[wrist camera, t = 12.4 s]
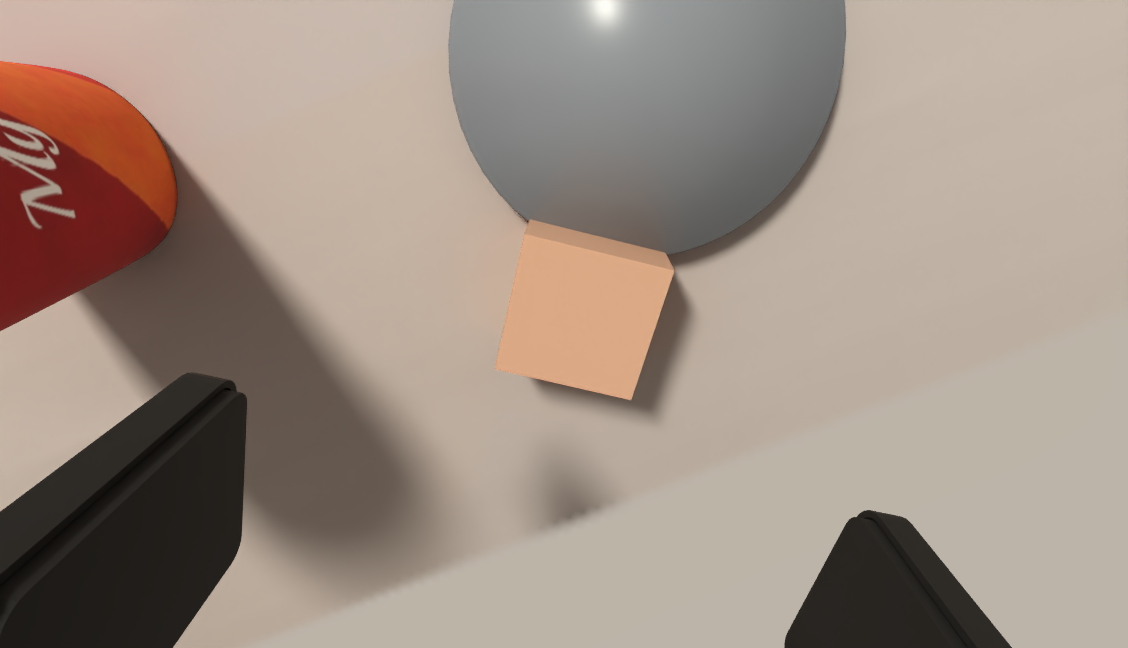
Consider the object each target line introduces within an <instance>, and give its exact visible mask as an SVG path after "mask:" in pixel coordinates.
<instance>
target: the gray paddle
mask: <svg viewBox="0 0 1128 648" xmlns="http://www.w3.org/2000/svg"><path fill="white" fill-rule="evenodd" d="M845 41H846V15H845V1H844V0H454V4H453V9H452V14H451V22H450V33H449V45H448V46H449V74H450V80H451V87H452V94H453V100H454V104H455V107H456V111H457V115H458V118H459V122H460V126H461V128H462V131H463V133H464V135H465V138H466V140H467V143H468V145H469V148H470V150H471V152H472V154H473V155H474V157H475V159H476V161H477V163H478V164H479V166H480V168H481V170H482V171H483V173H484V174H485V176H486V177H487V178H488V180H489V181H490V182H491V184H492V185H493V187H494V188H495V189H496V191H497V192H498V193H499V194H500V195H501V196H502V197H503V198H504V199H505V200H506V201H507V203H508V204H509V205H510V206H511V207H512V208H513V209H514V210H515V211H517V212H518V213H519V214H520V215H521V216H523V217H524V218H525V219H526V220H528V221H529V223H528V225H527V228H526V231H525V233H524V238H523V242H522V247H521V251H520V256H519V260H518V265H517V269H516V274H515V278H514V283H513V287H512V292H511V296H510V301H509V306H508V310H507V315H506V319H505V324H504V328H503V333H502V337H501V342H500V346H499V351H498V355H497V360H496V364H495V369H496V370H501V371H505V372H510V373H514V374H518V375H523V376H527V377H531V378H536V379H540V380H545V381H549V382H553V383H558V384H562V385H567V386H571V387H575V388H580V389H584V390H588V391H593V392H597V393H602V394H606V395H610V396H615V397H619V398H624V399H628V400H631V399H632V396H633V393H634V390H635V387H636V384H637V381H638V378H639V375H640V372H641V369H642V366H643V363H644V360H645V357H646V354H647V351H648V348H649V345H650V342H651V339H652V336H653V333H654V330H655V327H656V324H657V321H658V318H659V315H660V312H661V309H662V306H663V303H664V301H665V298H666V295H667V292H668V289H669V286H670V283H671V280H672V277H673V274H674V269H673V267H672V265H671V263H670V261H669V259H668V257H667V255H669V254H674V253H679V252H683V251H687V250H690V249H693V248H696V247H699V246H702V245H705V244H707V243H709V242H711V241H714V240H716V239H718V238H720V237H722V236H724V235H726V234H728V233H730V232H731V231H733V230H735V229H736V228H738V227H739V226H741V225H743V224H744V223H746V222H747V221H749V220H750V219H751V218H753V217H754V216H755V215H756V214H758V213H759V212H760V211H761V210H763V209H764V208H765V207H766V206H768V205H769V204H770V203H771V202H772V201H773V200H774V199H775V198H776V197H777V196H778V195H779V194H780V192H781V191H782V190H783V189H784V188H785V187H786V186H787V185H788V184H789V183H790V181H791V180H792V179H793V177H794V176H795V175H796V174H797V172H798V171H799V170H800V169H801V167H802V166H803V164H804V163H805V161H806V160H807V158H808V156H809V155H810V153H811V151H812V150H813V148H814V147H815V145H816V143H817V141H818V139H819V137H820V135H821V133H822V131H823V129H824V126H825V124H826V122H827V120H828V118H829V115H830V112H831V109H832V106H833V103H834V100H835V97H836V94H837V91H838V86H839V82H840V77H841V72H842V68H843V62H844V52H845Z"/></svg>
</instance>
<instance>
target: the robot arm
mask: <svg viewBox="0 0 1128 648" xmlns="http://www.w3.org/2000/svg"><path fill="white" fill-rule="evenodd" d="M246 415H247V398H246V396H245V395H244V394H243V393H239V392H237V390H236V386H235V383H234V382H232V381H231V380H226V379H222V378H217V377H212V376H207V375H202V374H197V373H186V374H184V375H182V376H181V377H180V378H178V379H177V380H176V381H174V382H173V383H172V384H170V385H169V386H168V387H166V388H165V389H164V390H162V391H161V392H159V393H158V394H157V395H155V396H154V397H153V398H151V399H150V400H149V401H147V402H146V403H145V404H143V405H142V406H141V407H139V408H138V409H137V410H135V411H134V412H133V413H131V414H130V415H129V416H127V417H126V418H125V419H123V420H122V421H121V422H119V423H118V424H117V425H115V426H114V427H113V428H111V429H110V430H109V431H107V432H106V433H105V434H103V435H102V436H101V437H99V438H98V439H97V440H95V441H94V442H93V443H91V444H90V445H89V446H87V447H86V448H85V449H83V450H82V451H81V452H79V453H78V454H77V455H75V456H74V457H73V458H71V459H70V460H69V461H67V462H66V463H65V464H63V465H62V466H61V467H59V468H58V469H57V470H55V471H54V472H53V473H51V474H50V475H49V476H47V477H46V478H45V479H43V480H42V481H41V482H39V483H38V484H37V485H35V486H34V487H33V488H31V489H30V490H29V491H27V492H26V493H25V494H23V495H22V496H21V497H19V498H18V499H17V500H15V501H14V502H13V503H11V504H10V505H9V506H7V507H6V508H5V509H3V510H2V511H1V512H0V648H173V647H174V645H175V644H176V642H177V641H178V639H179V638H180V637H181V635H182V634H183V632H184V631H185V629H186V628H187V627H188V625H189V624H190V622H191V621H192V619H193V618H194V617H195V615H196V614H197V612H198V611H199V609H200V608H201V606H202V605H203V604H204V602H205V601H206V599H207V598H208V596H209V595H210V594H211V592H212V591H213V589H214V588H215V586H216V585H217V584H218V582H219V581H220V579H221V578H222V576H223V575H224V574H225V572H226V571H227V569H228V568H229V566H230V565H231V563H232V562H233V560H234V558H235V556H236V554H237V552H238V549H239V546H240V542H241V536H242V514H243V489H244V464H245V440H246ZM785 648H1012V647H1011V646H1010V645H1009V644H1008V642H1007V641H1006V640H1005V639H1004V638H1003V636H1002V635H1001V634H1000V632H999V631H998V630H997V629H996V628H995V627H994V625H993V624H992V623H991V621H990V620H989V619H988V618H987V617H986V615H985V614H984V613H983V611H982V610H981V609H980V608H979V607H978V605H977V604H976V603H975V602H974V601H973V599H972V598H971V597H970V595H969V594H968V593H967V592H966V591H965V589H964V588H963V587H962V586H961V584H960V583H959V582H958V581H957V579H956V578H955V577H954V576H953V574H952V573H951V572H950V571H949V569H948V568H947V567H946V566H945V564H944V563H943V562H942V561H941V560H940V558H939V557H938V556H937V555H936V553H935V552H934V551H933V550H932V548H931V547H930V546H929V545H928V544H927V542H926V541H925V540H924V539H923V537H922V536H921V535H920V534H919V532H918V531H917V530H916V529H915V528H914V526H913V525H912V524H911V523H910V522H909V521H908V520H907V519H906V518H903V517H900V516H896V515H891V514H886V513H881V512H876V511H871V510H867V511H863V512H861V513H860V514H859V515H858V516H857V517H853V518H851V519H850V520H849V521H848V522H847V523H846V525H845V527H844V529H843V531H842V533H841V534H840V536H839V538H838V540H837V542H836V544H835V545H834V547H833V549H832V551H831V553H830V555H829V556H828V558H827V560H826V562H825V564H824V566H823V568H822V569H821V571H820V573H819V575H818V577H817V579H816V581H815V582H814V585H813V587H812V588H811V590H810V592H809V594H808V595H807V598H806V599H805V601H804V603H803V605H802V607H801V609H800V610H799V612H798V614H797V616H796V618H795V620H794V621H793V624H792V625H791V627H790V629H789V631H788V633H787V635H786V639H785Z"/></svg>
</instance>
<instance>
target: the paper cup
mask: <svg viewBox="0 0 1128 648" xmlns="http://www.w3.org/2000/svg"><path fill="white" fill-rule="evenodd" d="M176 207H177V186H176V179H175V175H174V171H173V167H172V164H171V161H170V159H169V156H168V154H167V152H166V149H165V147H164V146H163V144H162V142H161V140H160V139H159V137H158V135H157V134H156V132H155V131H154V129H153V128H152V127H151V125H150V124H149V123H148V121H147V120H146V119H145V118H144V117H143V116H142V115H141V113H140V112H139V111H138V110H137V109H136V108H135V107H134V106H132V105H131V104H130V103H129V102H128V101H127V100H126V99H124V98H123V97H122V96H120V95H119V94H118V93H116V92H115V91H113V90H112V89H110V88H108V87H107V86H105V85H103V84H101V83H100V82H98V81H96V80H93V79H91V78H89V77H86V76H83V75H80V74H77V73H73V72H70V71H66V70H61V69H56V68H49V67H43V66H36V65H28V64H20V63H11V62H3V61H0V331H1V330H3V329H5V328H7V327H9V326H11V325H13V324H15V323H17V322H19V321H21V320H23V319H25V318H27V317H29V316H31V315H33V314H35V313H37V312H39V311H41V310H43V309H45V308H47V307H49V306H50V305H52V304H54V303H56V302H58V301H60V300H62V299H64V298H66V297H68V296H70V295H72V294H74V293H76V292H78V291H80V290H82V289H84V288H86V287H87V286H89V285H91V284H93V283H95V282H97V281H99V280H101V279H103V278H105V277H107V276H109V275H110V274H112V273H114V272H116V271H118V270H120V269H122V268H123V267H125V266H127V265H129V264H131V263H133V262H134V261H136V260H138V259H139V258H141V257H143V256H144V255H146V254H147V253H149V252H150V251H151V250H153V249H154V248H155V247H156V246H157V245H158V244H159V243H160V242H161V241H162V240H163V239H164V238H165V236H166V235H167V233H168V232H169V230H170V228H171V226H172V223H173V220H174V217H175V213H176Z"/></svg>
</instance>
